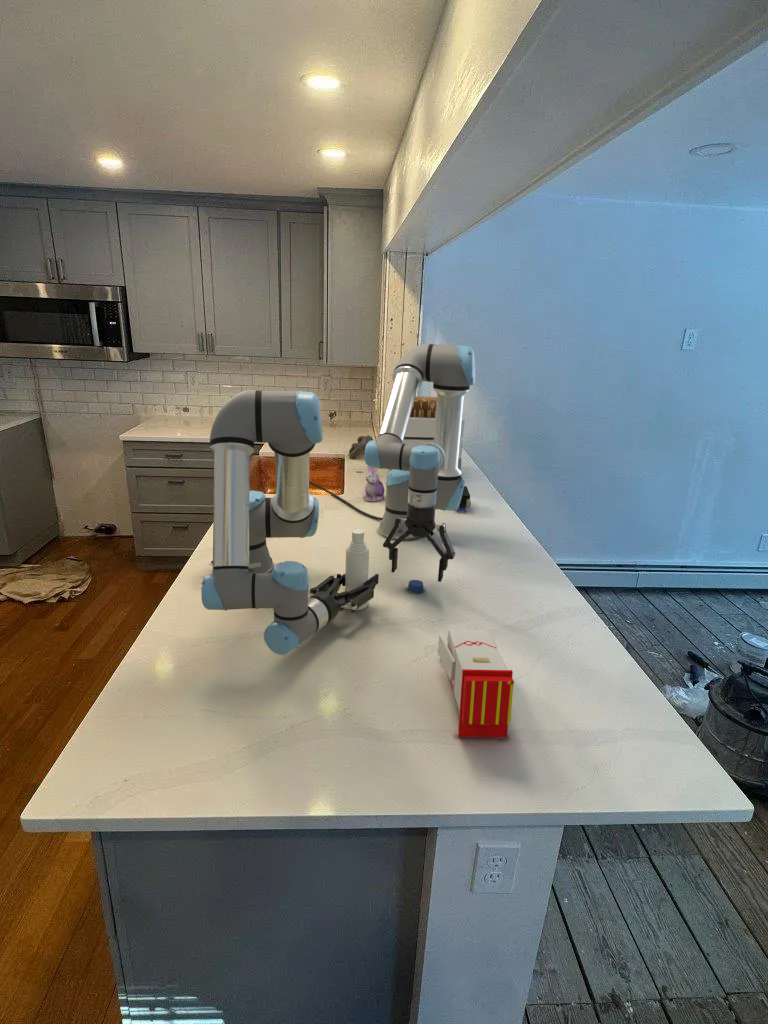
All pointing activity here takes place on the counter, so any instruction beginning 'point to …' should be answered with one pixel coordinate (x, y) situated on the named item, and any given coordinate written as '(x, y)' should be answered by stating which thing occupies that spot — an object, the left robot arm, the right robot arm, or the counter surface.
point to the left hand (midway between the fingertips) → (366, 575)
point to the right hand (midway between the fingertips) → (416, 575)
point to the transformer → (425, 424)
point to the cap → (415, 586)
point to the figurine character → (465, 500)
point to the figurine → (373, 485)
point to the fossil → (359, 446)
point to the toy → (478, 682)
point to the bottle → (356, 563)
